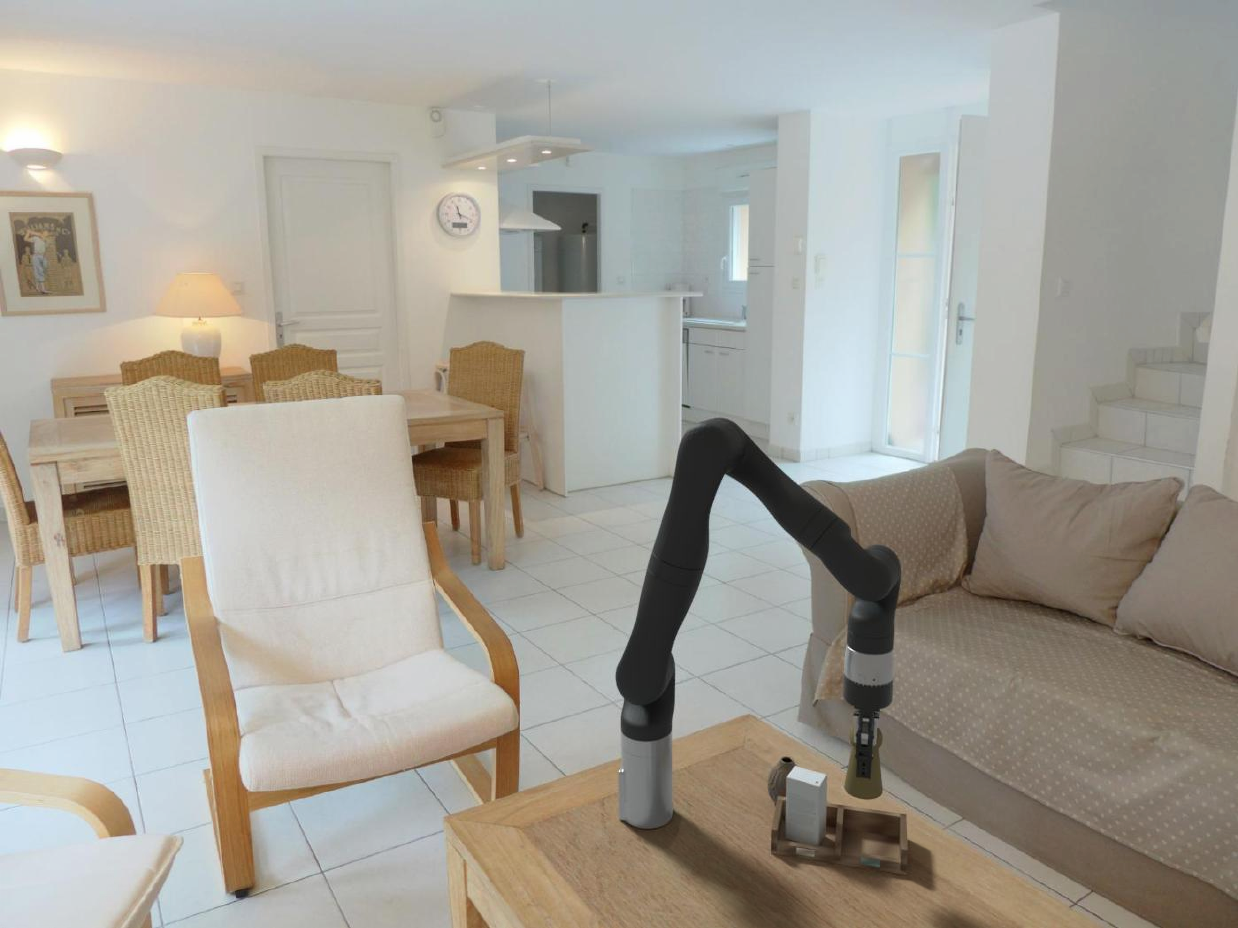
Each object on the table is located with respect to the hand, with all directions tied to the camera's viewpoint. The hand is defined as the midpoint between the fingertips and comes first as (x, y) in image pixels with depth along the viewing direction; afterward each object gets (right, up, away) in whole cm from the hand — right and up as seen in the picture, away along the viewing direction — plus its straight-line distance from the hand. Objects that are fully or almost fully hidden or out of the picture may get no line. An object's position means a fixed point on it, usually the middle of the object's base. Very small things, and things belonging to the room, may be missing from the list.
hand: (863, 770), depth 145 cm
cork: (0, -3, +1) cm, 4 cm away
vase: (-8, -14, +23) cm, 28 cm away
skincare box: (-7, -16, +11) cm, 21 cm away
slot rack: (-2, -16, +10) cm, 19 cm away
